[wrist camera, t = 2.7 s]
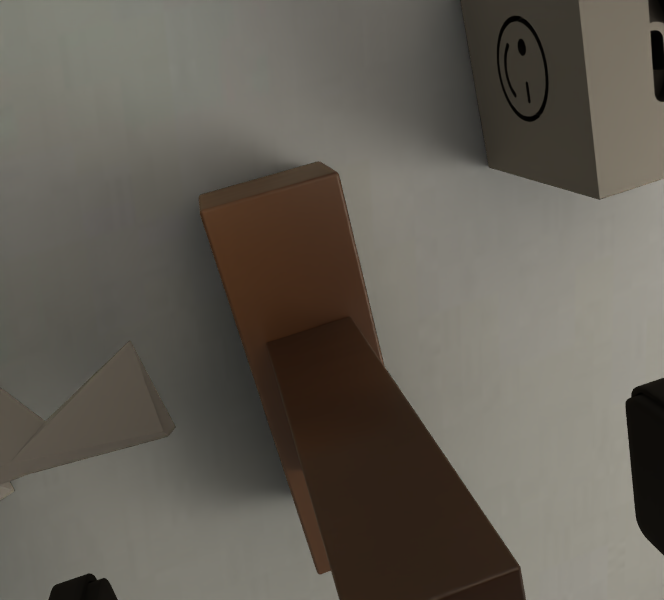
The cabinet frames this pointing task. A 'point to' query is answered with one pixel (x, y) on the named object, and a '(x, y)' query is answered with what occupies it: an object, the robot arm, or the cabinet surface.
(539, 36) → the dice cube
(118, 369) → the figurine
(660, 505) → the robot arm
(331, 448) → the brown l-shaped block
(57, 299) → the cabinet surface
